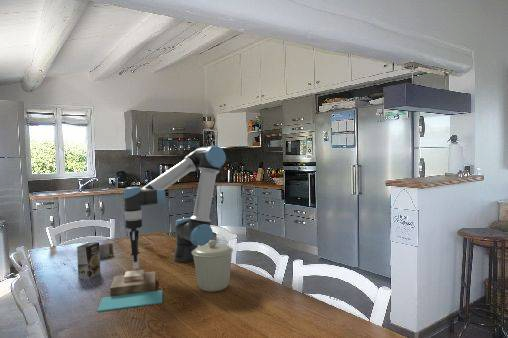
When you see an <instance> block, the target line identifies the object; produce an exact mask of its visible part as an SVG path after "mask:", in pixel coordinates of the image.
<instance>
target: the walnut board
mask: <svg viewBox="0 0 508 338" xmlns="http://www.w3.org/2000/svg"><path fill="white" fill-rule="evenodd" d="M156 274H157V273H156V271H144V278H143V280H134V281H126V282H124V276H125V274H118V275H115V276H114V277H113V280H112V283H111V285H110V287H109V291H110V292H109V293H110V294H109V296H110V297H112V296H120V295H128V294H135V293H143V292H151V291H156V283H157V278H156V277H157V276H156Z"/></svg>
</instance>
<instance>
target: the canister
mask: <svg viewBox="0 0 508 338" xmlns="http://www.w3.org/2000/svg"><path fill="white" fill-rule="evenodd" d="M233 252H234V248H233V247H231V246H229V245H227V244H222V243H217V241H216V240H215V239H211V240H210V241H209V242H208V243H207V244H206V245H202V246H198V247H197V248H196V249H194V250H193V251H192V255H193V257H194V261H193V263H194V268H195V270H194V271H195V276H196V282H197V285H198V288H199V289H200V290H202V291H204V292H210V293H212V292H214V293H215V292H219V291H222V290H225V289H226V288H227V287H228V286H229V284H230V280H231V279H230V278H231V272H232V271H231V269H232V258H233V257H232V254H233Z"/></svg>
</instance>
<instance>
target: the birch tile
mask: <svg viewBox="0 0 508 338" xmlns="http://www.w3.org/2000/svg"><path fill="white" fill-rule="evenodd" d="M144 272H145V270H144V269H137V270H127V271H125V273H124V275H125V276H124V282H126V281H134V280H143V278H144Z"/></svg>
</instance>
